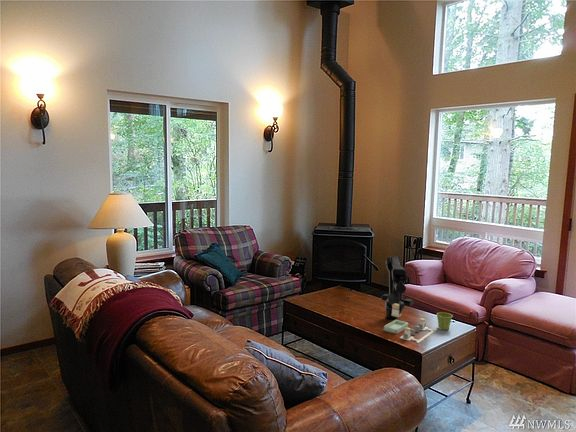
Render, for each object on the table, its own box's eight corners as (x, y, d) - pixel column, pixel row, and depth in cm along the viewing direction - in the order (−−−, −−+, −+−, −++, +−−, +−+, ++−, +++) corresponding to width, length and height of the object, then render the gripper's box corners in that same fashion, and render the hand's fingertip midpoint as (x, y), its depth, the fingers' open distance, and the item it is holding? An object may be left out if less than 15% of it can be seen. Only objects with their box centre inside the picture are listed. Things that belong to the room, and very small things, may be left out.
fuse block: (399, 338, 238) (400, 328, 237) (419, 325, 258) (419, 316, 258) (418, 343, 231) (419, 333, 230) (436, 330, 251) (437, 321, 250)
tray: (383, 330, 249) (383, 326, 249) (395, 323, 262) (395, 319, 262) (396, 334, 244) (396, 330, 243) (408, 326, 256) (408, 322, 256)
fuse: (391, 315, 252) (391, 304, 251) (394, 313, 255) (395, 303, 254) (398, 317, 249) (398, 306, 248) (401, 315, 252) (402, 304, 252)
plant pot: (433, 328, 254) (433, 314, 254) (439, 324, 261) (440, 311, 260) (448, 332, 248) (449, 318, 247) (454, 328, 255) (455, 314, 254)
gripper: (377, 288, 250) (376, 313, 252) (406, 294, 238) (405, 320, 240) (386, 284, 259) (385, 308, 260) (414, 290, 247) (413, 315, 248)
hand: (396, 313), depth 252 cm, fingers closed on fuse, 4 cm apart
